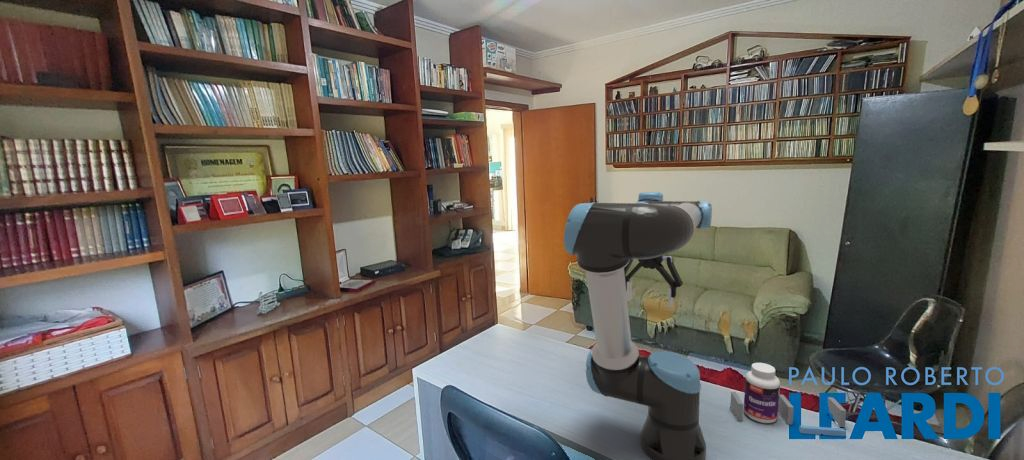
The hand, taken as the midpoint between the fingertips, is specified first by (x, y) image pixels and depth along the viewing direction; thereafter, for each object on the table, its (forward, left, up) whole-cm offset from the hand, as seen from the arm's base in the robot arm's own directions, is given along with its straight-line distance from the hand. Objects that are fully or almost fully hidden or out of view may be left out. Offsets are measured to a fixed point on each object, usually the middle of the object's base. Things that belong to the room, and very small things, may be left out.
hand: (649, 303), depth 135 cm
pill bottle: (-22, -27, -24) cm, 42 cm away
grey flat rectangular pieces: (-24, -33, -24) cm, 47 cm away
